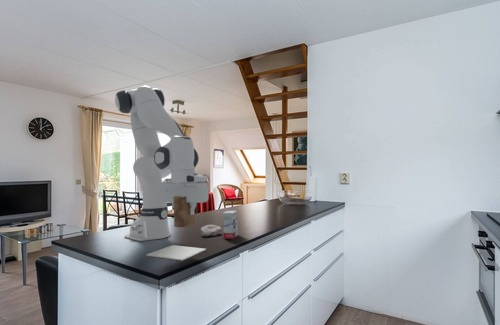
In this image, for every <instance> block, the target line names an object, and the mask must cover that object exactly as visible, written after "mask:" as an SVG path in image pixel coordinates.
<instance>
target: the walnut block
mask: <svg viewBox="0 0 500 325" xmlns="http://www.w3.org/2000/svg"><path fill="white" fill-rule="evenodd" d="M173 200H174V208H173V221H174V228H189V227H191V226H195V225H196V209H195V210H194V215H189V214H188V210H190V209H191V206H190V203H187V202H186V196H174V197H173Z"/></svg>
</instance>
